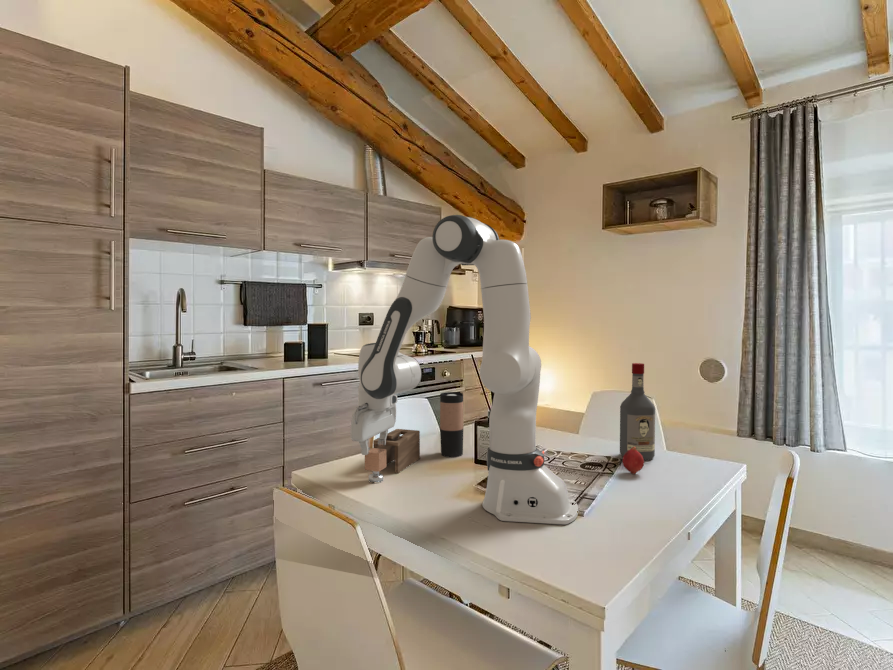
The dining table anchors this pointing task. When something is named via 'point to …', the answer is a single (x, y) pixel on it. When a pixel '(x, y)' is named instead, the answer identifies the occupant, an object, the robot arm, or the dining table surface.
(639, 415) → the liquor
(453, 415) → the travel mug
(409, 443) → the dark wooden box
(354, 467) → the dining table surface
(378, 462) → the keyed peg
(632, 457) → the onion
